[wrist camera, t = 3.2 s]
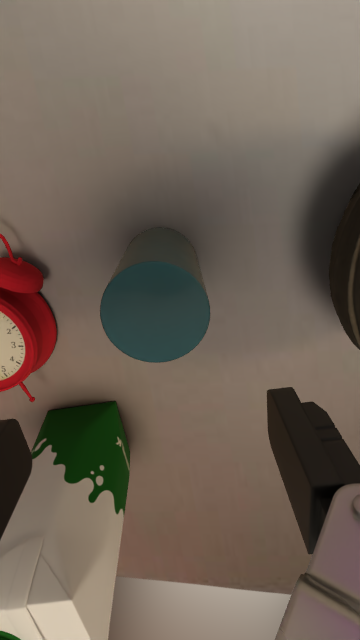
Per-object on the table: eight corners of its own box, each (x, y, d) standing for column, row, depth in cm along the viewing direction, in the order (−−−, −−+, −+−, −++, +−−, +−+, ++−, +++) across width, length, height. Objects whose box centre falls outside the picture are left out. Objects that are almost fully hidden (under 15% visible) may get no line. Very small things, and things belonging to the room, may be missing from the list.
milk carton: (36, 404, 35) (-110, 662, 17) (124, 392, 35) (70, 642, 16) (61, 467, 39) (-37, 737, 20) (141, 456, 38) (113, 721, 20)
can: (131, 302, 31) (112, 368, 21) (117, 232, 28) (88, 269, 18) (200, 293, 31) (214, 356, 21) (193, 222, 28) (204, 254, 18)
